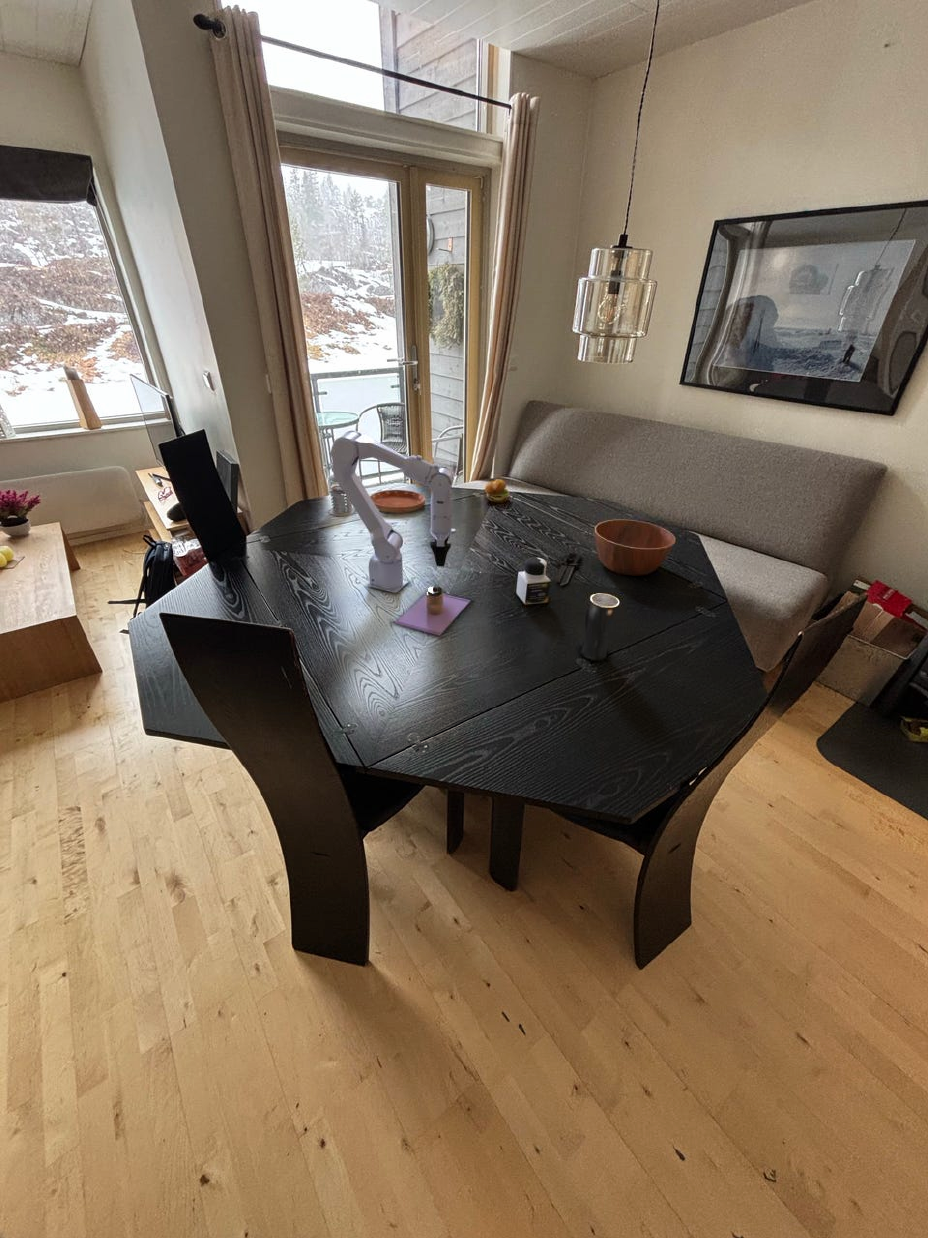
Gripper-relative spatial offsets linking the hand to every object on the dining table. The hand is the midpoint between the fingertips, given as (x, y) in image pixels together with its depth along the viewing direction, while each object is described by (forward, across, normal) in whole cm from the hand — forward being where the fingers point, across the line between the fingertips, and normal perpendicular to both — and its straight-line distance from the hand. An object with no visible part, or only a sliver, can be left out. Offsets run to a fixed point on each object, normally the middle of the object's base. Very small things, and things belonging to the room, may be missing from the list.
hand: (440, 560), depth 143 cm
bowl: (+10, +20, -62) cm, 65 cm away
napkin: (+9, -13, +1) cm, 16 cm away
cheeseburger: (+5, +83, -22) cm, 86 cm away
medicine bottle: (+10, -4, -27) cm, 29 cm away
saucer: (+10, +72, +20) cm, 76 cm away
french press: (+10, +63, +41) cm, 76 cm away
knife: (+10, +15, -41) cm, 44 cm away
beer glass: (+10, -32, -38) cm, 51 cm away
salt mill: (+9, -13, +1) cm, 16 cm away
